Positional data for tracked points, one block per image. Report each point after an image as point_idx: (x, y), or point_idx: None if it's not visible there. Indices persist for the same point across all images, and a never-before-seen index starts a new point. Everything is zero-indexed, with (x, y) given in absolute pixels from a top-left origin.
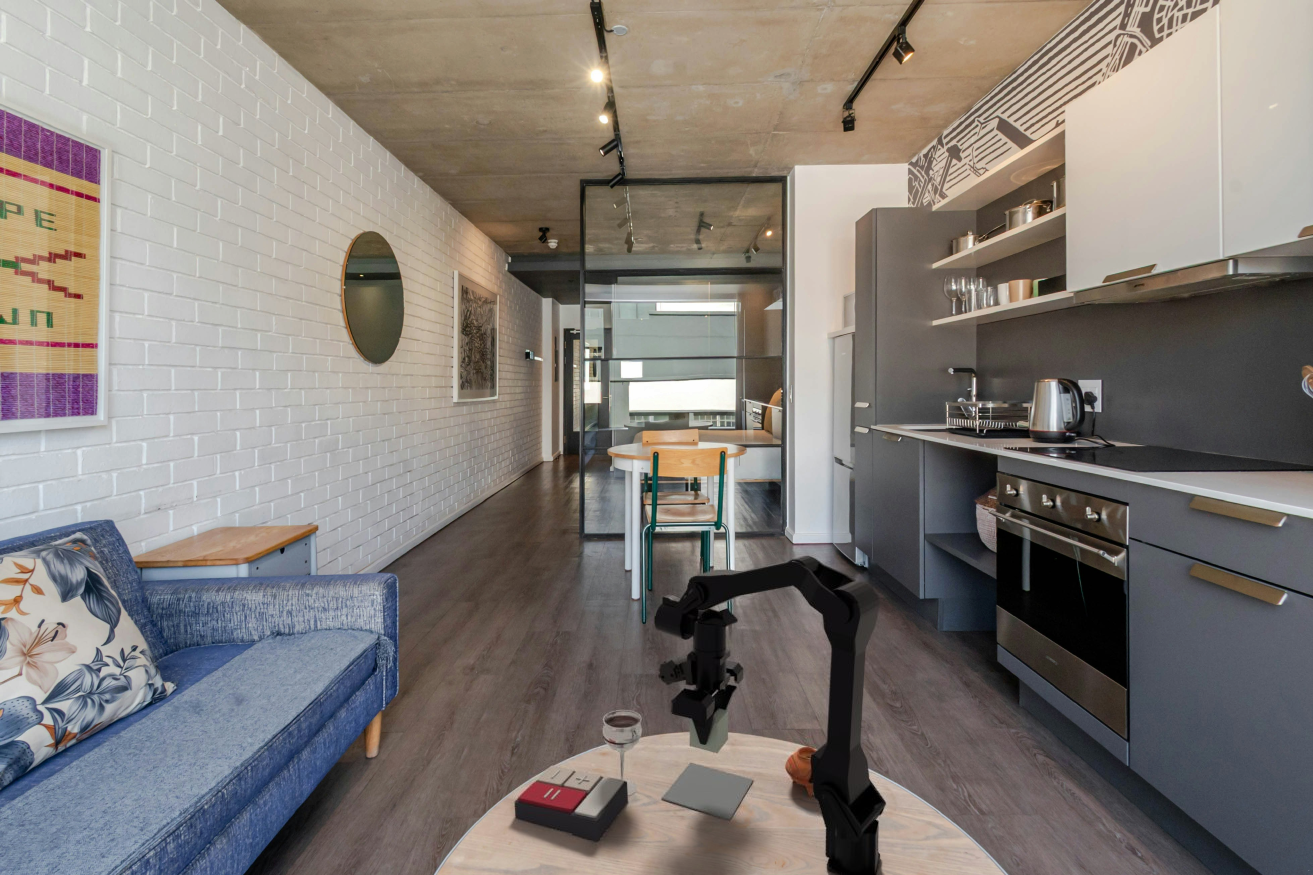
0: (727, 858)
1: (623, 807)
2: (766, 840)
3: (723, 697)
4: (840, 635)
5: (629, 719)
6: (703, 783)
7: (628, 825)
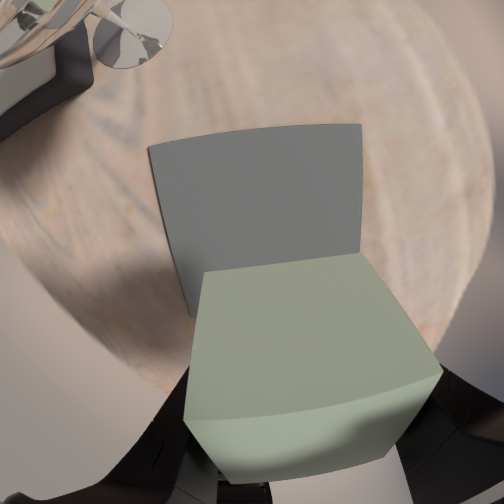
0: (111, 342)
1: (66, 98)
2: None
3: (424, 487)
4: None
5: None
6: (281, 207)
7: (37, 155)
